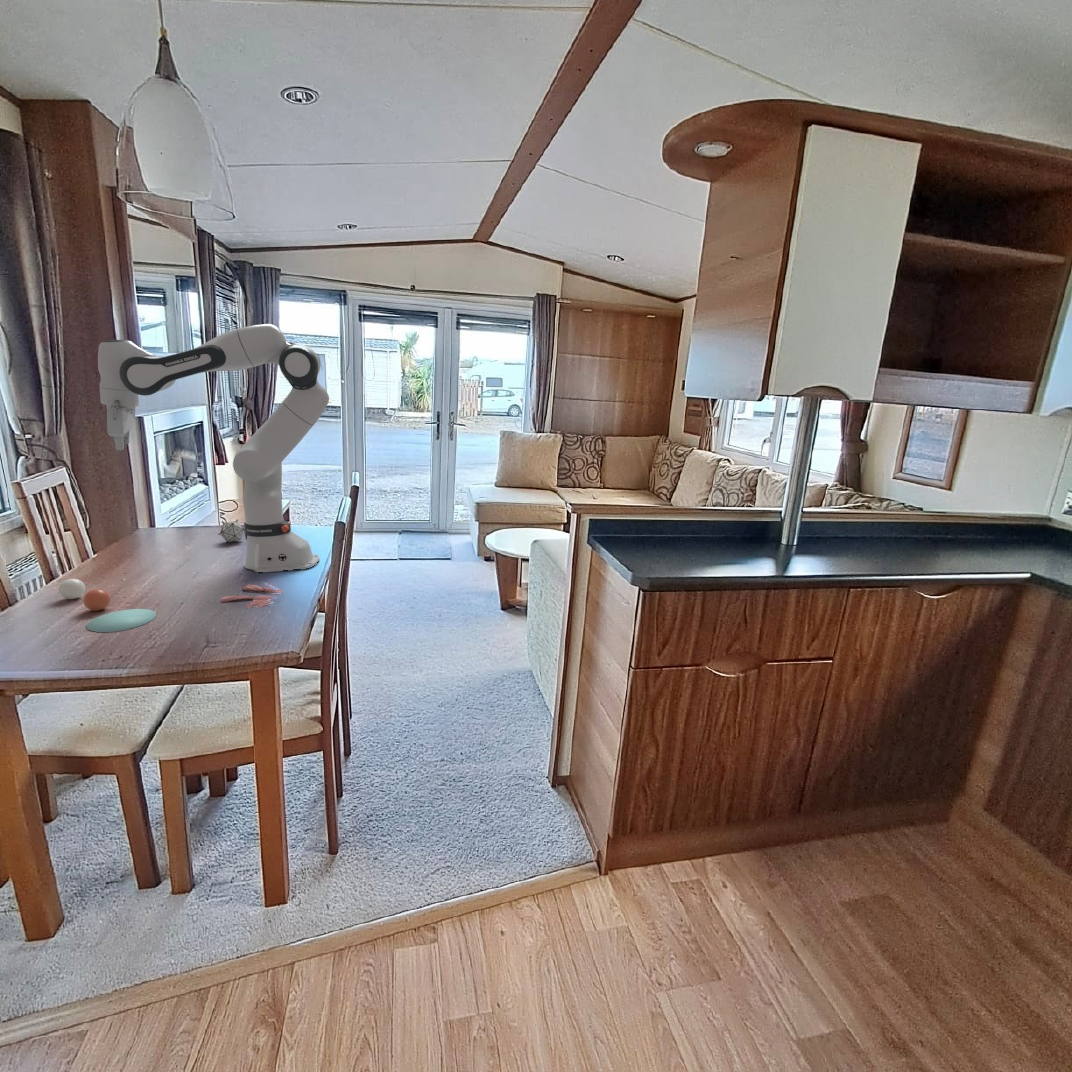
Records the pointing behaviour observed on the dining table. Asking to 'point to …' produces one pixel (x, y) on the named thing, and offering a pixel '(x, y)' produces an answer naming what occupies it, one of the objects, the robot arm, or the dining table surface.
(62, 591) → the white egg
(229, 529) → the game die
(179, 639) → the dining table surface
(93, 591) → the brown egg
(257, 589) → the pinkish brown flat pieces
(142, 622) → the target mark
